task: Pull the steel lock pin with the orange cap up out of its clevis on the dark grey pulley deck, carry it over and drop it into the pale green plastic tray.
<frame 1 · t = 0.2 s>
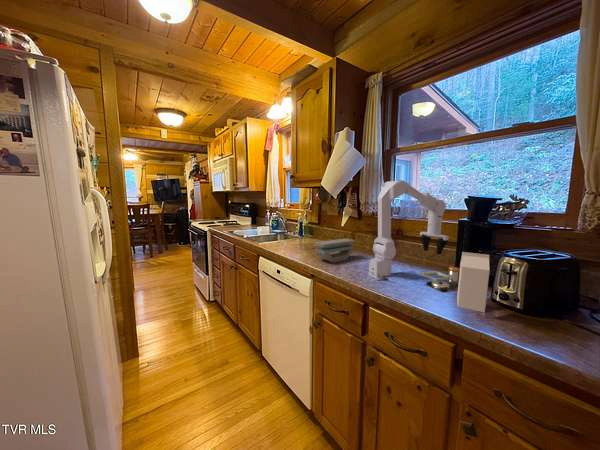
hand: (432, 252, 117), 10 cm above the counter, tool pointing down, fingers open, 7 cm apart
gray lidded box: (334, 259, 140), on the counter
pulley deck: (445, 290, 96), on the counter
tray: (435, 280, 107), on the counter
milk carton: (469, 310, 79), on the counter
lock pin: (452, 285, 96), point 1 cm above the counter, touching pulley deck
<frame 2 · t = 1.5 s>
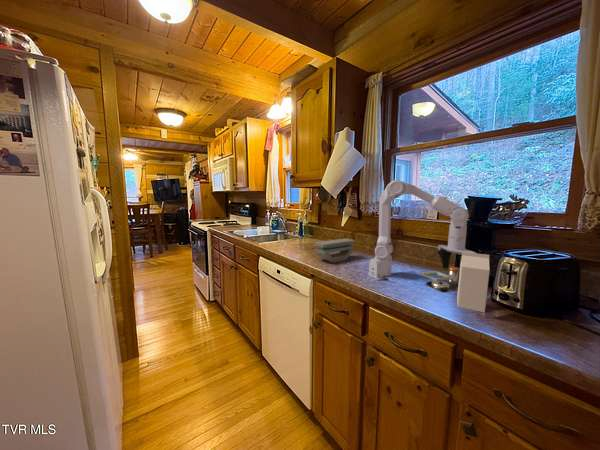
hand: (453, 270, 96), 8 cm above the counter, tool pointing down, fingers open, 7 cm apart
nothing on the counter moved.
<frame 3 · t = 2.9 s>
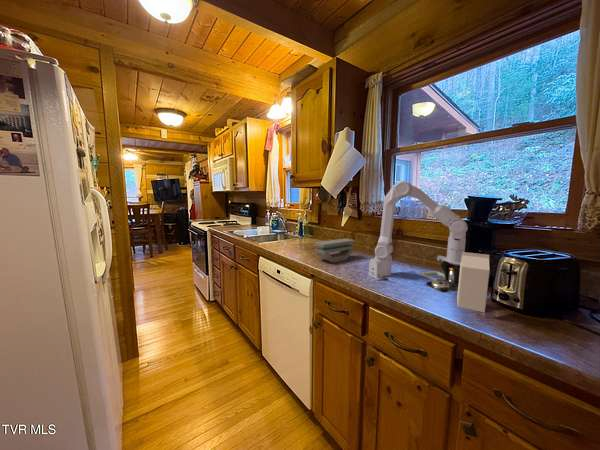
hand: (452, 282, 96), 3 cm above the counter, tool pointing down, fingers closed on lock pin, 3 cm apart
lock pin: (452, 285, 96), point 2 cm above the counter, touching gripper, pulley deck
everything else where it was.
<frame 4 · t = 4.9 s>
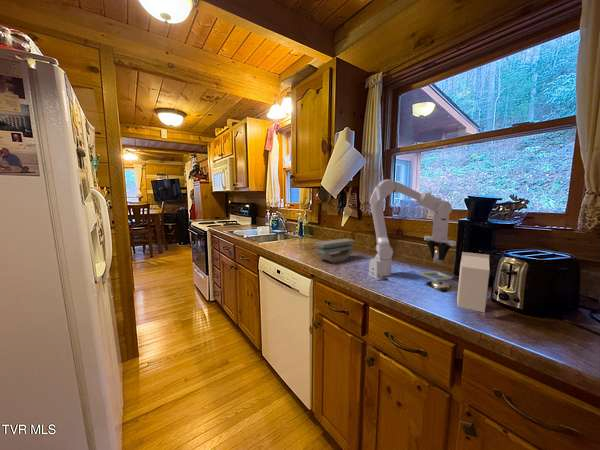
hand: (437, 259, 106), 10 cm above the counter, tool pointing down, fingers closed on lock pin, 3 cm apart
lock pin: (437, 262, 106), point 8 cm above the counter, touching gripper
everything else where it was.
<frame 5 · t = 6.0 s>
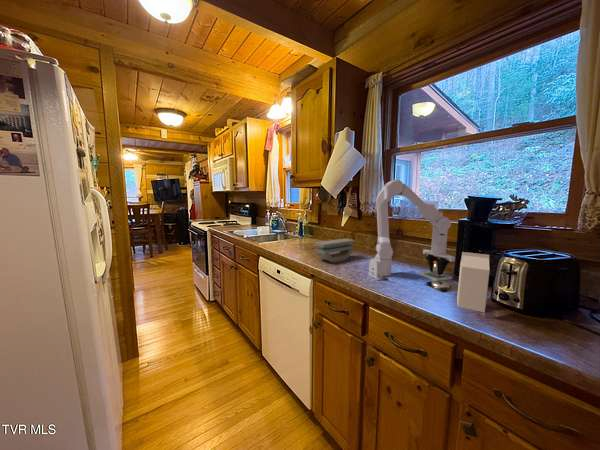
hand: (436, 273, 106), 3 cm above the counter, tool pointing down, fingers closed on lock pin, 3 cm apart
lock pin: (436, 277, 107), point 1 cm above the counter, touching gripper
everything else where it was.
when the fingers open (3 cm above the counter, at t = 6.7 s): lock pin stays where it is, resting on tray.
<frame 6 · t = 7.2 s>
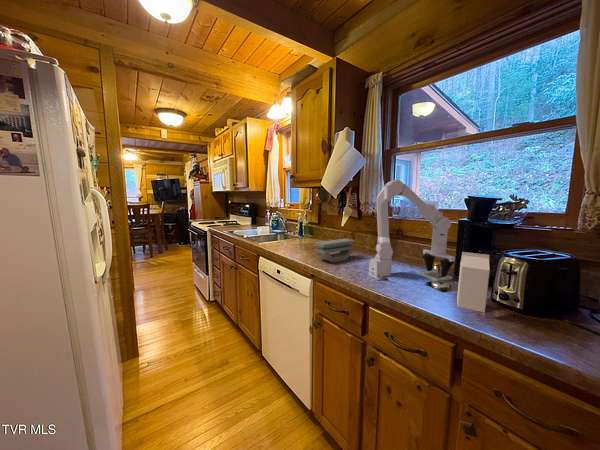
hand: (436, 273, 106), 3 cm above the counter, tool pointing down, fingers open, 7 cm apart
lock pin: (436, 279, 107), point 1 cm above the counter, touching tray
everything else where it was.
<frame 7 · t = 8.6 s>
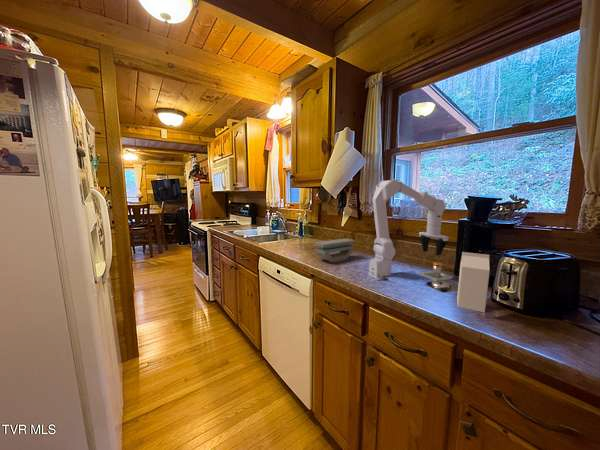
hand: (431, 253, 113), 10 cm above the counter, tool pointing down, fingers open, 7 cm apart
nothing on the counter moved.
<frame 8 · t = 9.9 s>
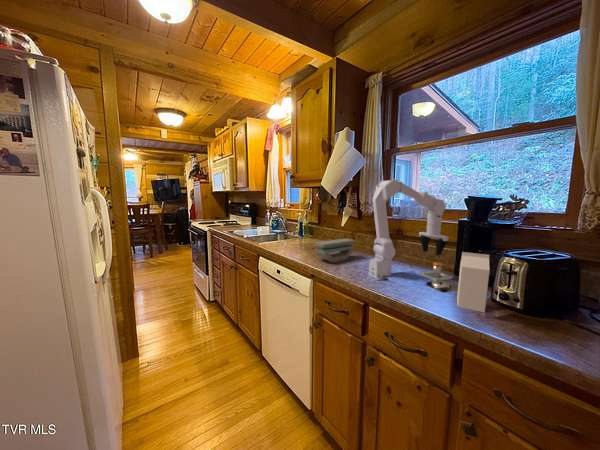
hand: (431, 253, 113), 10 cm above the counter, tool pointing down, fingers open, 7 cm apart
nothing on the counter moved.
at the end: lock pin inside the target area on the tray (0.1 cm from its centre), point 0.5 cm above the tray's base; the gripper is holding nothing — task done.
